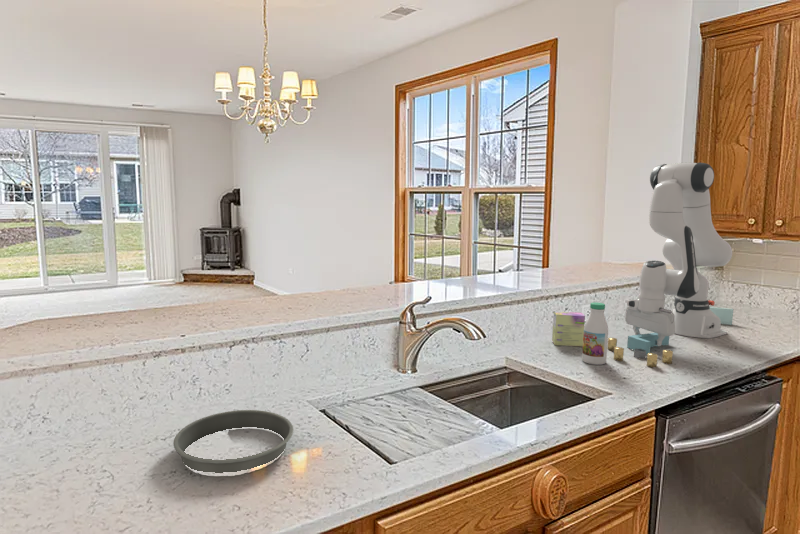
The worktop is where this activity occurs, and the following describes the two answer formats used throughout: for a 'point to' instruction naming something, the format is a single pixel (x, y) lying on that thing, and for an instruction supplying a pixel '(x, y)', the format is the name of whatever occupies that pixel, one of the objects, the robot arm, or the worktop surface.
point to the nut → (640, 353)
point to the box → (568, 328)
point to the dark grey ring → (228, 422)
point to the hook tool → (645, 341)
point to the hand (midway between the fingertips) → (647, 341)
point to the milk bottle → (595, 336)
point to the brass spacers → (650, 357)
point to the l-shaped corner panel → (723, 314)
